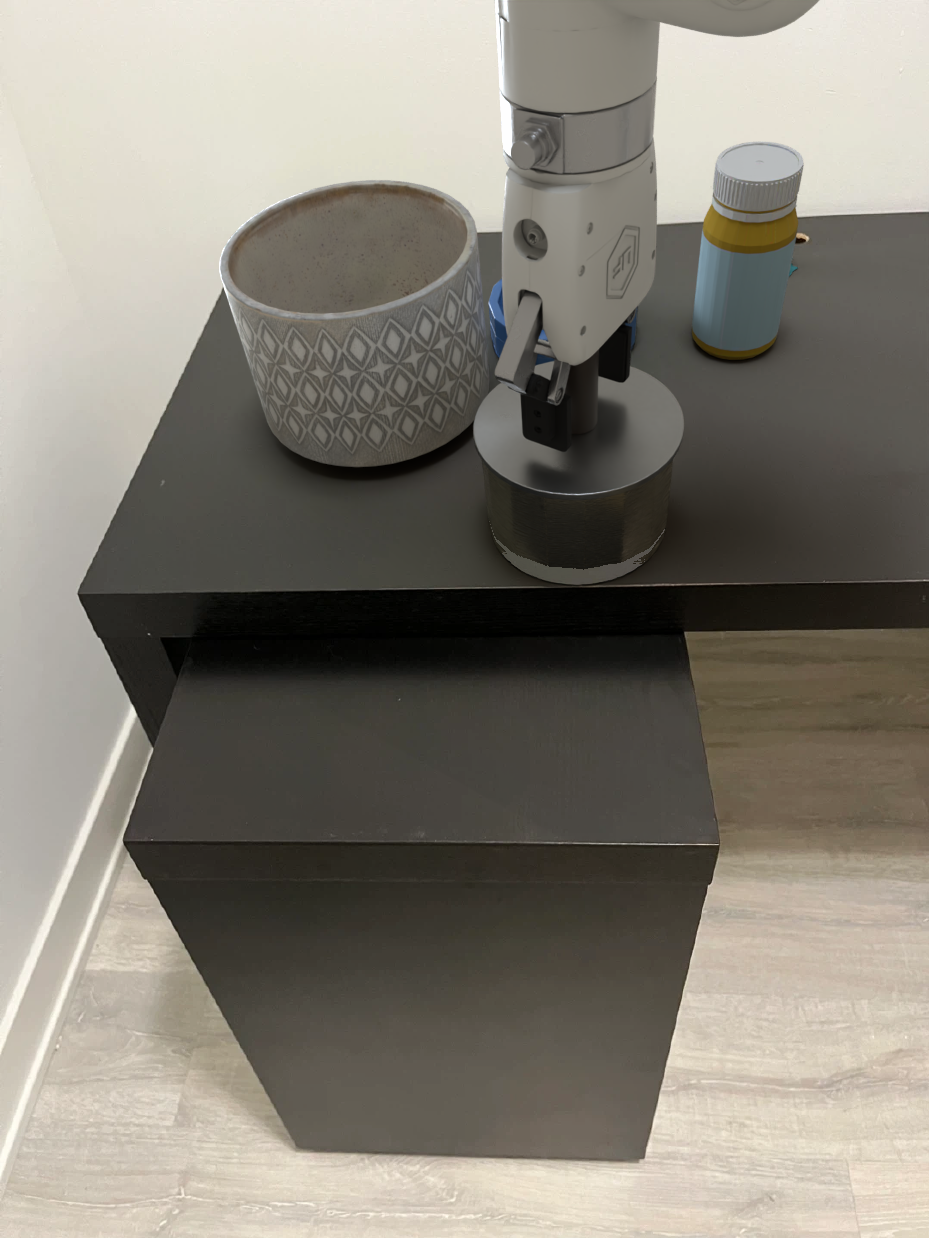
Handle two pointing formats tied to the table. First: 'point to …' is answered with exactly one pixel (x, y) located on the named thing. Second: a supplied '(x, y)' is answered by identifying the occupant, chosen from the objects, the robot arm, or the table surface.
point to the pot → (578, 523)
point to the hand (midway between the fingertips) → (577, 406)
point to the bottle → (746, 249)
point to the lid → (584, 436)
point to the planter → (361, 319)
